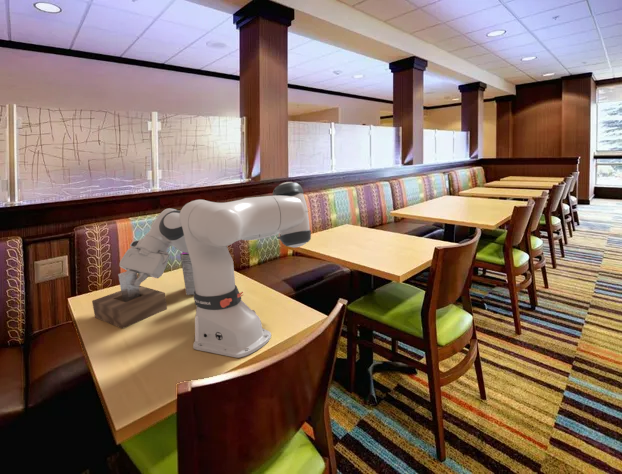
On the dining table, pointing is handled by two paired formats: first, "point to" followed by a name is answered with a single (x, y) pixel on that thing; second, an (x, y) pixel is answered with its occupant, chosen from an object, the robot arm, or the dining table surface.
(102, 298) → the post socket
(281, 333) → the dining table surface
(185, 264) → the candy bar box
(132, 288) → the peg
